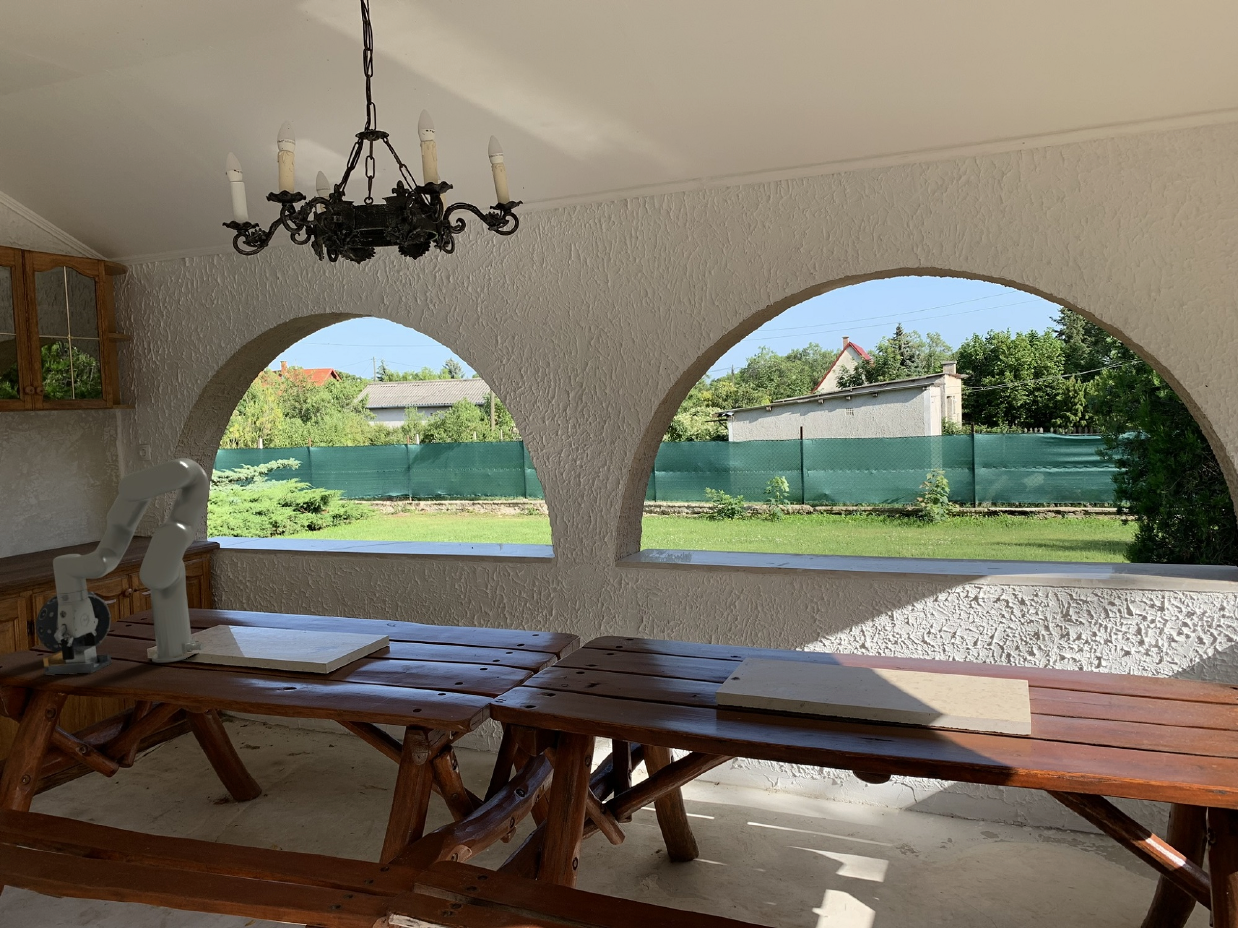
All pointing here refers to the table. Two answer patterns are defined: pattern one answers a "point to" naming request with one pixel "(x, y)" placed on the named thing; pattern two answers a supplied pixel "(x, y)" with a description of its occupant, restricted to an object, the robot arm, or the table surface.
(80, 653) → the grey cube
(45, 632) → the dark grey studded drum
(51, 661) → the coupler bracket
